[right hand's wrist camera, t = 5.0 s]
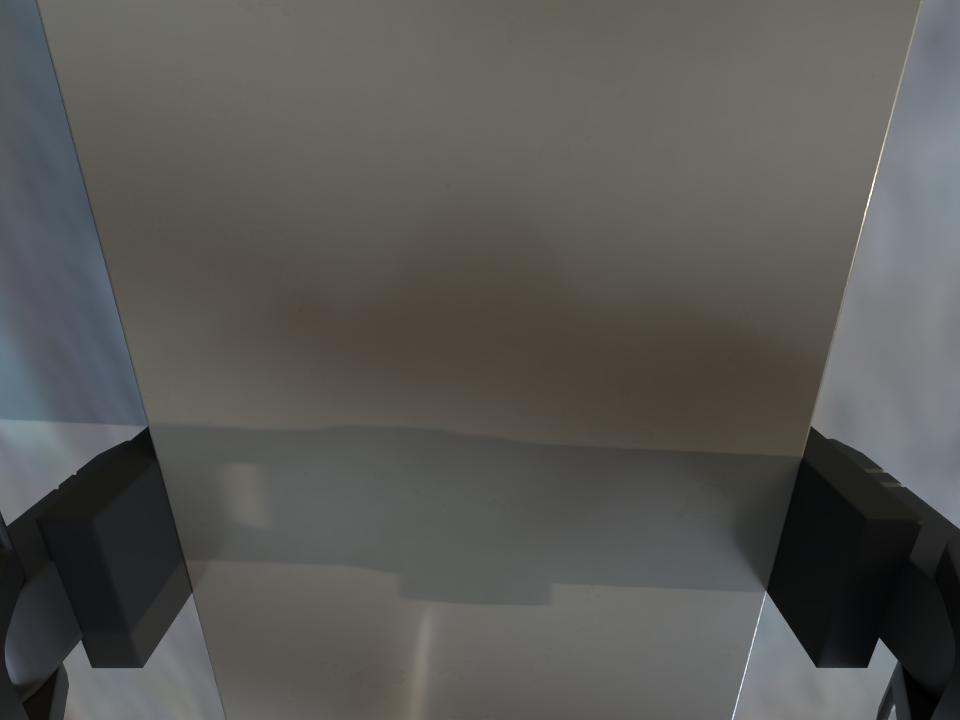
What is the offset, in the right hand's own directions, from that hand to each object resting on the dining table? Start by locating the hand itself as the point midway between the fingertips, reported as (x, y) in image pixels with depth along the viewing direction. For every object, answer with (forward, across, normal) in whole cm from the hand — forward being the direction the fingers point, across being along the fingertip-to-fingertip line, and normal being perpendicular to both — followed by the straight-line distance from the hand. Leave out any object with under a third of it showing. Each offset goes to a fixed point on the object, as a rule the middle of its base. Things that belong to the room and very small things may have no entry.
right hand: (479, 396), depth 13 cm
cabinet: (+6, 0, -4) cm, 7 cm away
